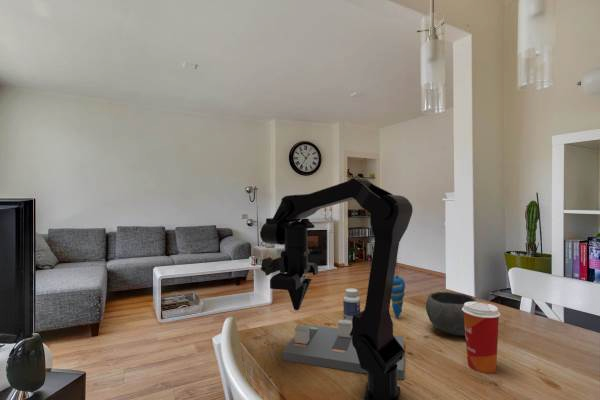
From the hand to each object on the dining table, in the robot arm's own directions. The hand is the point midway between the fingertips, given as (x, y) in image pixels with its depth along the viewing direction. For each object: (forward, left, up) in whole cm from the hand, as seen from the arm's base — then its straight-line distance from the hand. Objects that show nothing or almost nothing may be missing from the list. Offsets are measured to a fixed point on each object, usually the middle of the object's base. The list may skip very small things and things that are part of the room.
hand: (296, 309), depth 76 cm
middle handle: (+12, -10, -10) cm, 18 cm away
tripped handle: (+5, 0, -10) cm, 11 cm away
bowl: (+29, -39, -12) cm, 50 cm away
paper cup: (+9, -42, -12) cm, 45 cm away
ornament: (+35, -23, -12) cm, 44 cm away
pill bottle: (+29, -9, -12) cm, 33 cm away
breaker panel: (+7, -11, -12) cm, 18 cm away
